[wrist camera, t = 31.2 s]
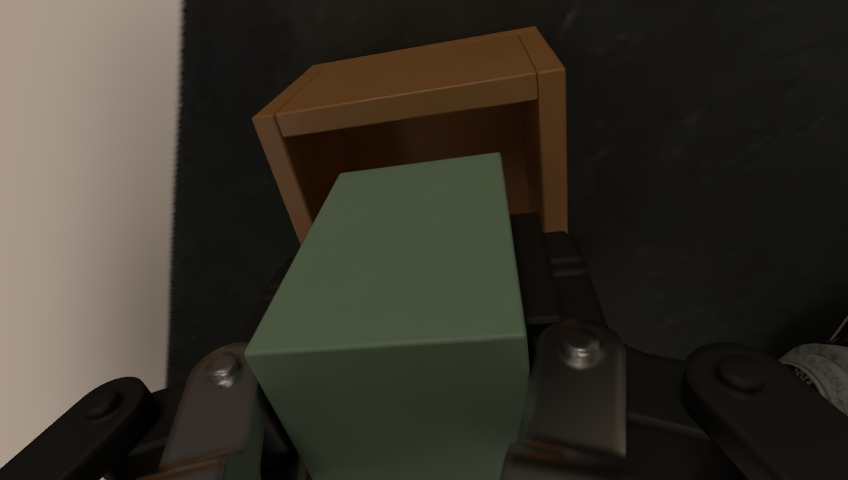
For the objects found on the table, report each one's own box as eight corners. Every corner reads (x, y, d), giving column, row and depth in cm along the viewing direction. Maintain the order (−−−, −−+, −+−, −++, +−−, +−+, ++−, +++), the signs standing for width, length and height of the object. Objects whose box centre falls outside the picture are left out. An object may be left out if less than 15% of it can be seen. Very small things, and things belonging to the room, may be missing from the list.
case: (312, 65, 15) (250, 118, 11) (536, 25, 14) (566, 67, 10) (384, 308, 21) (363, 406, 17) (547, 294, 20) (569, 396, 15)
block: (339, 172, 12) (241, 354, 7) (500, 150, 11) (526, 335, 6) (376, 294, 14) (322, 501, 9) (512, 282, 13) (539, 499, 8)
